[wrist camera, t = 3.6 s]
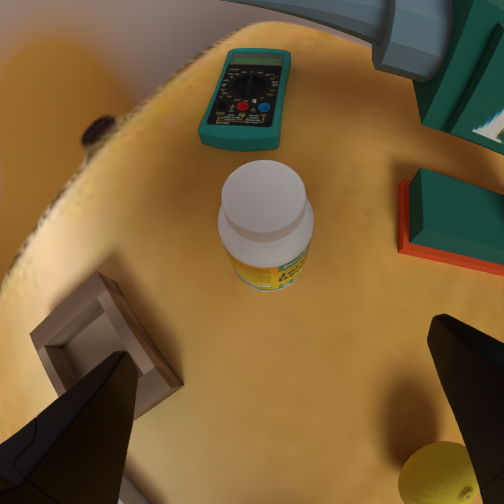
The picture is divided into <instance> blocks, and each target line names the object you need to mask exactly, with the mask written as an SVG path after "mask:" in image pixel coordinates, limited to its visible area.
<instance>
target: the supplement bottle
mask: <svg viewBox="0 0 504 504" xmlns="http://www.w3.org/2000/svg"><path fill="white" fill-rule="evenodd" d="M221 202H222V204H221V207H220V210H219V214H218V231H219V235H220V238H221V240H222V243H223V245H224V247H225V249H226V251H227V253H228V255H229V257H230V260H231V262H232V264H233V266H234V268H235V270H236V272H237V274H238V276H239V277H240V279H241V280H242V281H243V282H244V283H245V284H247V285H248V286H250V287H251V288H253V289H256V290H259V291H266V292H270V291H277V290H281V289H283V288H285V287H287V286H289V285H291V284H292V283H293V282H294V281H295V280H296V279H297V278H298V276H299V275H300V273H301V271H302V269H303V266H304V263H305V259H306V256H307V252H308V249H309V245H310V242H311V238H312V234H313V230H314V214H313V210H312V207H311V204H310V202H309V201H308V199H307V197H306V190H305V186H304V183H303V181H302V179H301V178H300V176H299V175H298V174H297V173H296V172H295V171H294V170H293V169H291V168H290V167H289V166H287V165H285V164H283V163H280V162H277V161H272V160H257V161H252V162H249V163H246V164H244V165H242V166H240V167H239V168H237V169H236V170H235V171H233V172H232V173H231V174H230V175H229V177H228V178H227V180H226V181H225V183H224V185H223V188H222V194H221Z"/></svg>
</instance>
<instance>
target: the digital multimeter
mask: <svg viewBox="0 0 504 504" xmlns="http://www.w3.org/2000/svg"><path fill="white" fill-rule="evenodd" d="M290 67H291V53H290V52H288V51H285V50H278V49H265V48H238V49H232V50H230V51H229V52H228V55H227V58H226V61H225V64H224V67H223V70H222V73H221V75H220V78H219V81H218V83H217V86H216V89H215V91H214V94H213V96H212V98H211V101H210V103H209V105H208V108H207V110H206V112H205V115H204V117H203V119H202V121H201V124H200V126H199V128H198V132H199V135H200V138H201V141H202V143H203V144H205V145H209V146H212V147H216V148H221V149H227V150H234V151H259V150H269V149H276V148H278V147H279V142H280V130H281V119H282V110H283V102H284V96H285V90H286V84H287V80H288V75H289V71H290ZM243 75H244V76H243ZM275 104H276V105H275ZM274 110H275V111H274ZM272 121H273V122H272Z"/></svg>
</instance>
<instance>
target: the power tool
mask: <svg viewBox="0 0 504 504" xmlns="http://www.w3.org/2000/svg"><path fill="white" fill-rule="evenodd" d="M223 1H229V2H235V3H240V4H246V5H251V6H256V7H260V8H265V9H269V10H273V11H277V12H281V13H285V14H289V15H293V16H296V17H299V18H303V19H306V20H310V21H313V22H316V23H319V24H322V25H325V26H328V27H330V28H333V29H336V30H339V31H341V32H344V33H347V34H349V35H352V36H354V37H357V38H360V39H362V40H364V41H366V42H369V43H371V44H372V61H373V64H374V67H375V70H379V71H383V72H387V73H391V74H395V75H398V76H402V77H405V78H409V79H412V81H413V85H414V89H415V94H416V99H417V103H418V108H419V114H420V119H421V125H424V126H427V127H431V128H434V129H437V130H440V131H443V132H446V133H449V134H451V135H454V136H457V137H460V138H462V139H465V140H468V141H470V142H473V143H475V144H478V145H480V146H483V147H485V148H488V149H490V150H492V151H495V152H497V153H499V154H502V155H504V0H223ZM398 253H401V254H406V255H411V256H415V257H420V258H425V259H430V260H434V261H439V262H443V263H448V264H452V265H457V266H461V267H466V268H470V269H475V270H479V271H483V272H488V273H492V274H496V275H500V276H504V195H501V194H498V193H496V192H493V191H491V190H488V189H485V188H482V187H480V186H477V185H474V184H471V183H468V182H465V181H462V180H459V179H456V178H453V177H450V176H447V175H443V174H440V173H437V172H433V171H430V170H427V169H423V168H420V169H419V170H418V172H417V173H416V175H415V177H414V178H413V180H412V181H410V180H406V179H403V180H402V181H401V183H400V185H399V248H398Z"/></svg>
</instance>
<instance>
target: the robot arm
mask: <svg viewBox="0 0 504 504" xmlns="http://www.w3.org/2000/svg"><path fill="white" fill-rule="evenodd" d="M427 343H428V346H429V349H430V352H431V355H432V358H433V361H434V364H435V367H436V370H437V373H438V376H439V379H440V382H441V385H442V387H443V390H444V392H445V394H446V397H447V399H448V401H449V404H450V406H451V409H452V411H453V414H454V416H455V419H456V421H457V424H458V426H459V429H460V432H461V434H462V437H463V440H464V443H465V445H466V448H467V451H468V454H469V457H470V460H471V463H472V466H473V469H474V472H475V476H476V479H477V482H478V486H479V489H480V493H481V497H482V501H483V504H504V343H502V342H500V341H498V340H497V339H495V338H493V337H491V336H489V335H487V334H485V333H483V332H481V331H479V330H477V329H475V328H473V327H471V326H469V325H467V324H465V323H463V322H461V321H459V320H457V319H456V318H454V317H452V316H450V315H448V314H440V315H436V316H434V317H433V319H432V321H431V325H430V329H429V333H428V336H427ZM137 385H138V370H137V368H136V366H135V364H134V362H133V360H132V358H131V356H130V354H129V352H127V351H114V352H113V353H112V354H110V355H109V356H108V357H107V358H105V359H104V360H103V361H102V362H101V363H99V364H98V365H97V366H96V367H95V368H93V369H92V370H91V371H90V372H89V373H87V374H86V375H85V376H84V377H83V378H81V379H80V380H79V381H78V382H77V383H75V384H74V385H73V386H72V387H71V388H69V389H68V390H67V391H66V392H65V393H64V394H62V395H61V396H60V397H59V398H58V399H56V400H55V401H54V402H53V403H52V404H50V405H49V406H48V407H47V408H46V409H44V410H43V411H42V412H41V413H40V414H39V415H37V418H36V417H35V418H34V419H33V420H31V421H30V422H29V423H28V424H27V425H25V426H24V427H23V428H22V429H20V430H19V431H18V432H17V433H15V434H14V435H13V436H11V437H10V438H9V439H7V440H6V441H4V442H3V443H2V444H0V504H118V501H119V494H120V488H121V482H122V476H123V471H124V465H125V460H126V455H127V449H128V444H129V440H130V435H131V430H132V425H133V420H134V412H135V402H136V393H137Z"/></svg>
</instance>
